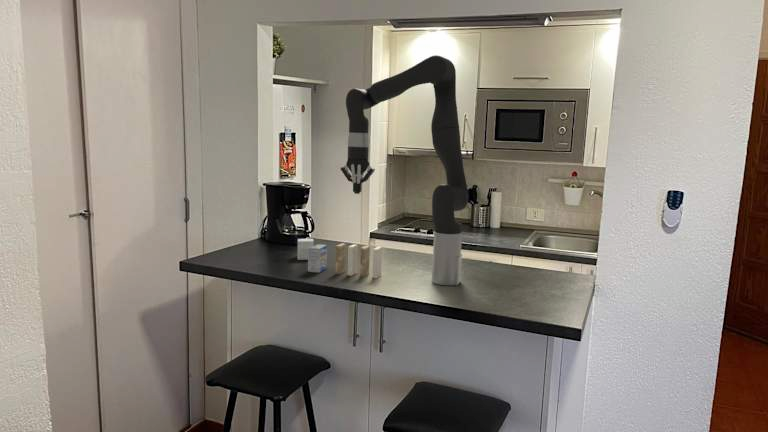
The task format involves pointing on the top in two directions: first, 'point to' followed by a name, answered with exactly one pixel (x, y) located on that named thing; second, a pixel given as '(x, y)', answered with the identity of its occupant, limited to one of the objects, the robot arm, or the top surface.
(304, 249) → the skincare box
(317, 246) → the medicine box
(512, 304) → the top surface
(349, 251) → the domino
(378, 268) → the domino
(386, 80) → the robot arm
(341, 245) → the domino
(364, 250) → the domino
